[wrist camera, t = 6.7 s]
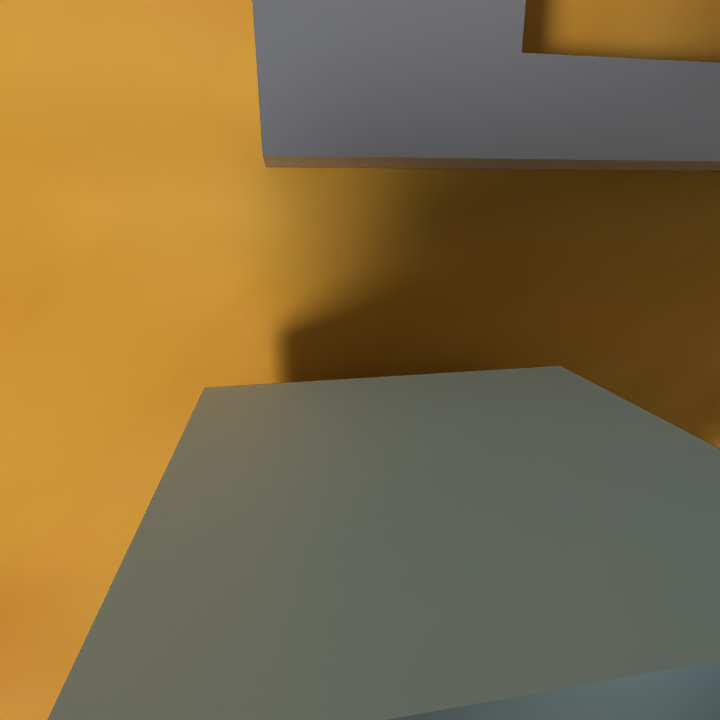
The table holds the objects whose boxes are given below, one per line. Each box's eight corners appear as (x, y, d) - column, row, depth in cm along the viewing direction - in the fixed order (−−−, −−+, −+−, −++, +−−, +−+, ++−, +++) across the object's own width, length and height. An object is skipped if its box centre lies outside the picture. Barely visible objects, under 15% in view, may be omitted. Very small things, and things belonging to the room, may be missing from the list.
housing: (560, 365, 9) (1022, 606, 3) (526, 632, 11) (781, 1064, 5) (204, 387, 8) (16, 782, 2) (238, 677, 10) (179, 1267, 4)
